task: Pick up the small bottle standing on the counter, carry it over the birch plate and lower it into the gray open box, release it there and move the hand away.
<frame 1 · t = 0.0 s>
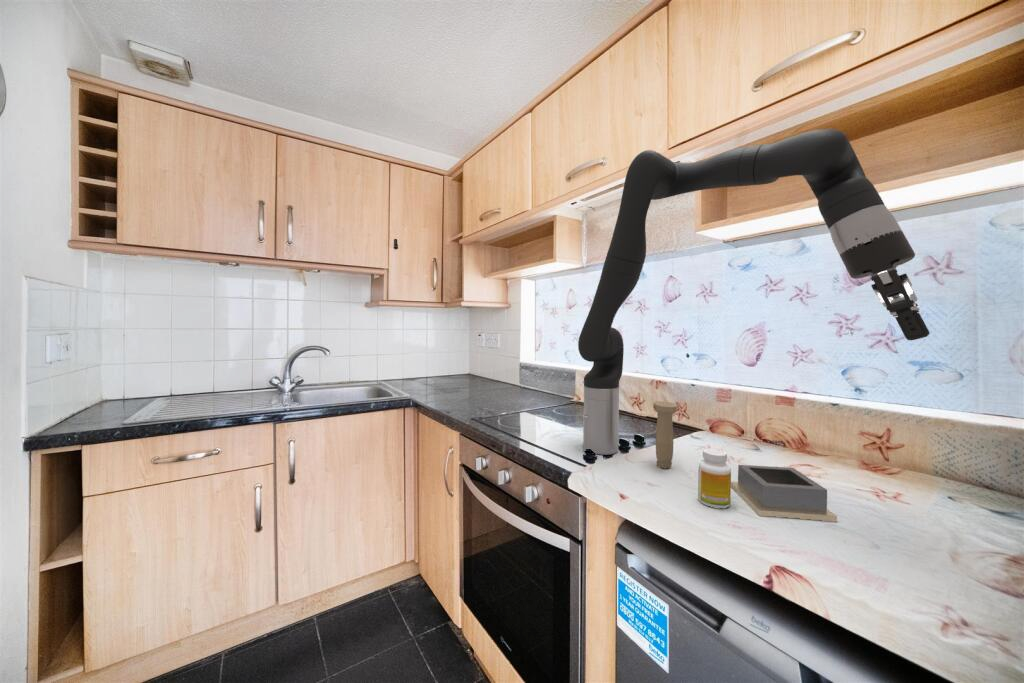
hand: (919, 338, 54), 31 cm above the worktop, tool tilted 20°, fingers open, 8 cm apart
supplement bottle: (713, 503, 69), on the worktop
gray open box: (778, 502, 69), on the worktop
handle: (664, 467, 86), on the worktop
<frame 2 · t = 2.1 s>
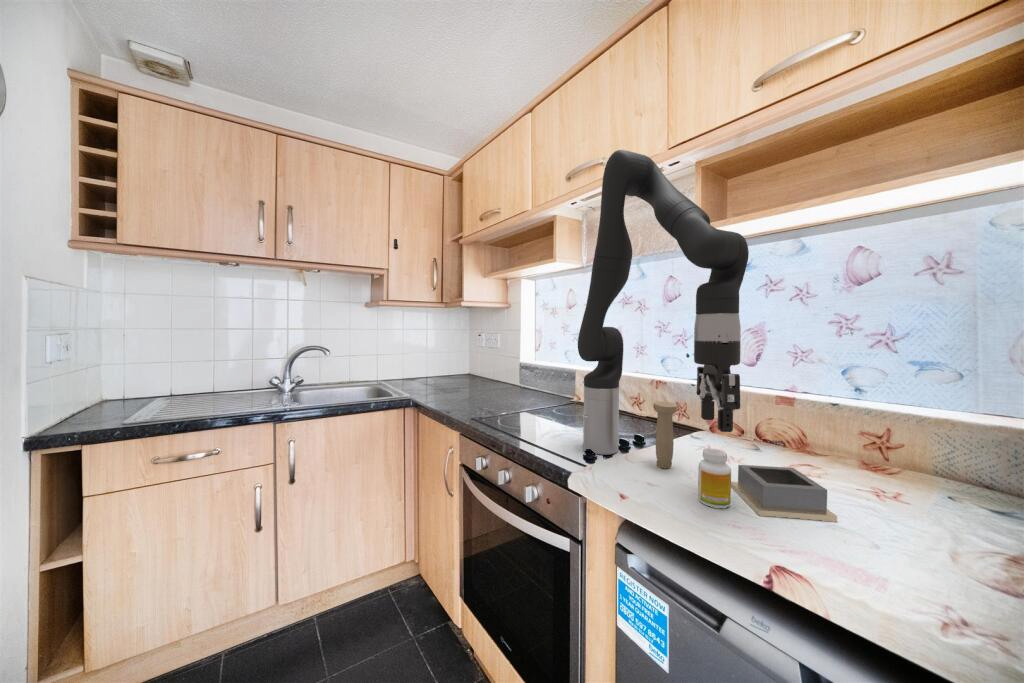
hand: (715, 425, 68), 15 cm above the worktop, tool pointing down, fingers open, 8 cm apart
nothing on the worktop moved.
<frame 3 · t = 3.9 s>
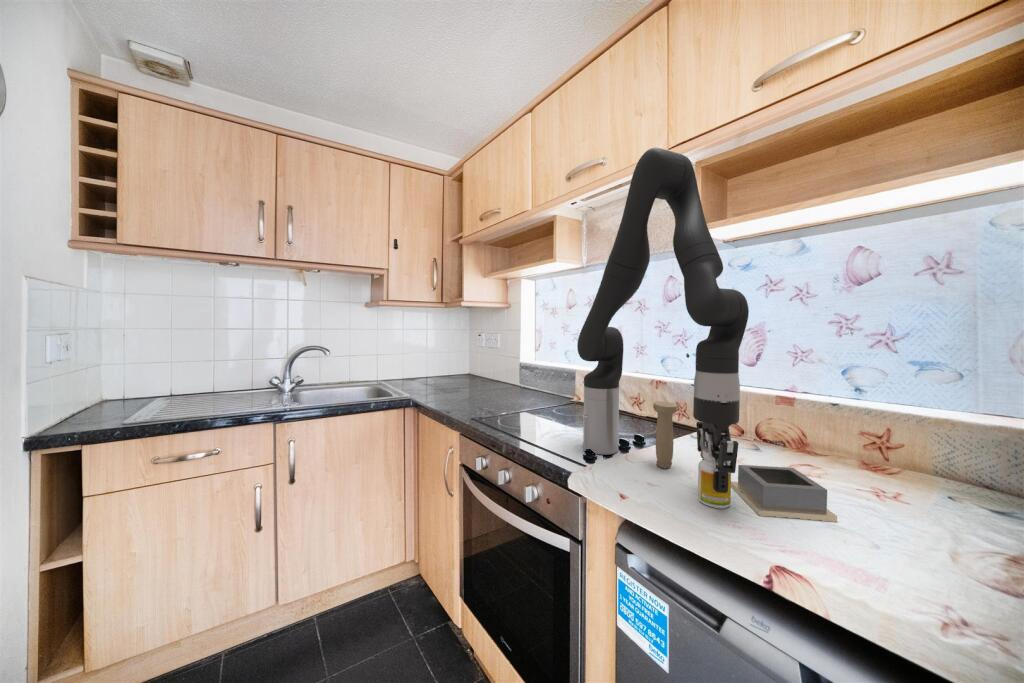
hand: (714, 484, 68), 3 cm above the worktop, tool pointing down, fingers closed on supplement bottle, 5 cm apart
supplement bottle: (713, 503, 69), on the worktop, touching gripper
everything else where it was.
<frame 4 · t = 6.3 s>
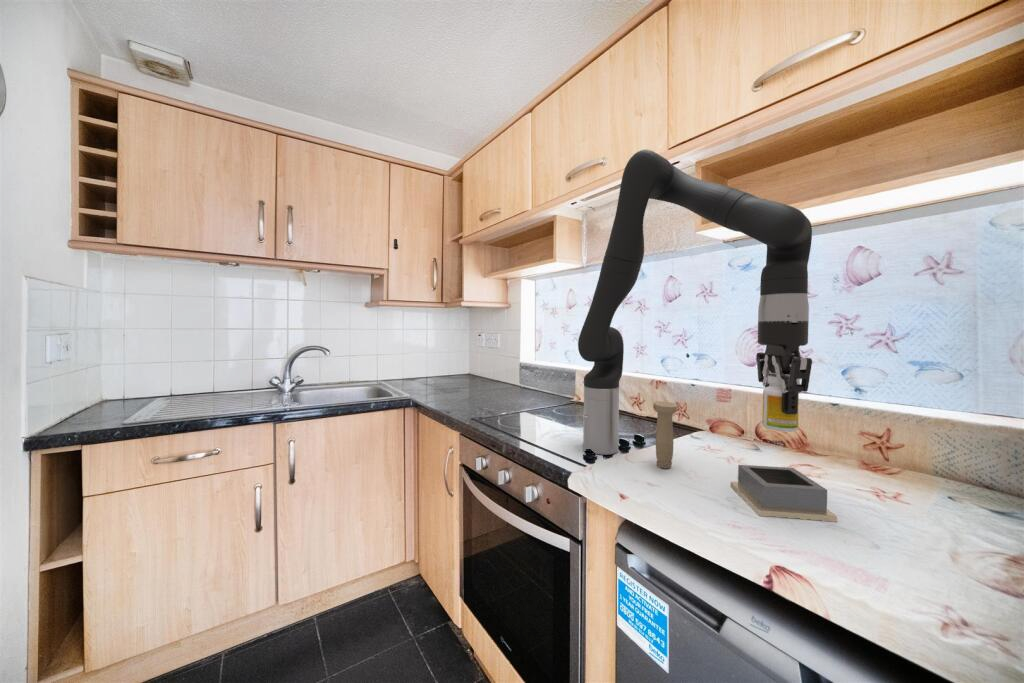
hand: (780, 409, 68), 18 cm above the worktop, tool pointing down, fingers closed on supplement bottle, 5 cm apart
supplement bottle: (779, 429, 68), point 14 cm above the worktop, touching gripper
everything else where it was.
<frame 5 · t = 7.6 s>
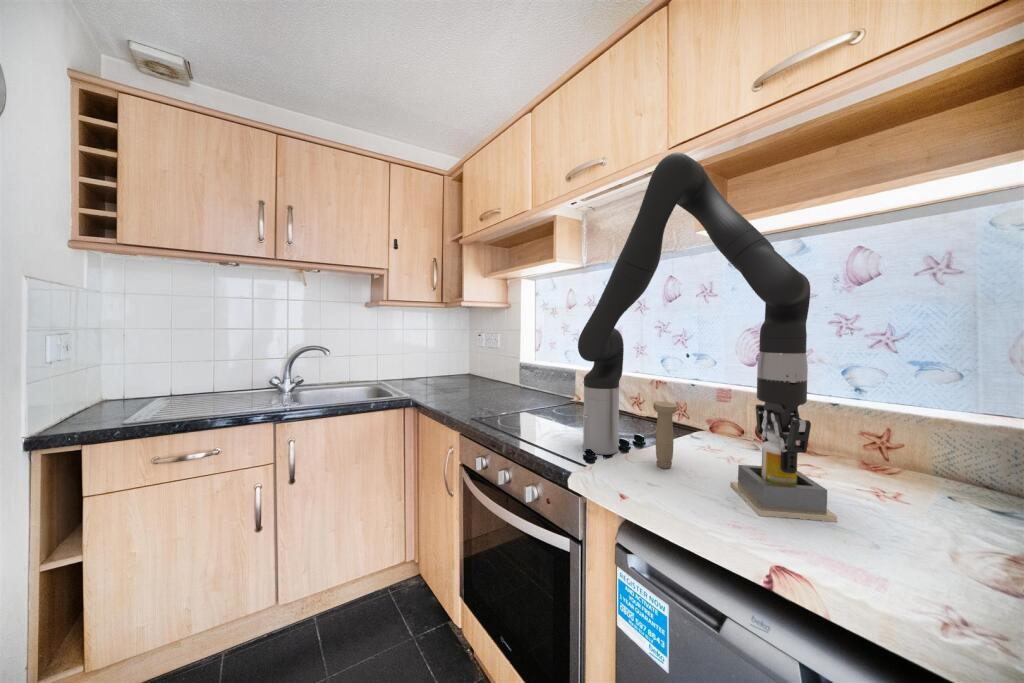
hand: (779, 465, 68), 7 cm above the worktop, tool pointing down, fingers closed on supplement bottle, 5 cm apart
supplement bottle: (778, 484, 68), point 3 cm above the worktop, touching gripper
everything else where it was.
when the fingers open (7 cm above the worktop, at t = 8.5 s): supplement bottle drops 2 cm, resting on gray open box.
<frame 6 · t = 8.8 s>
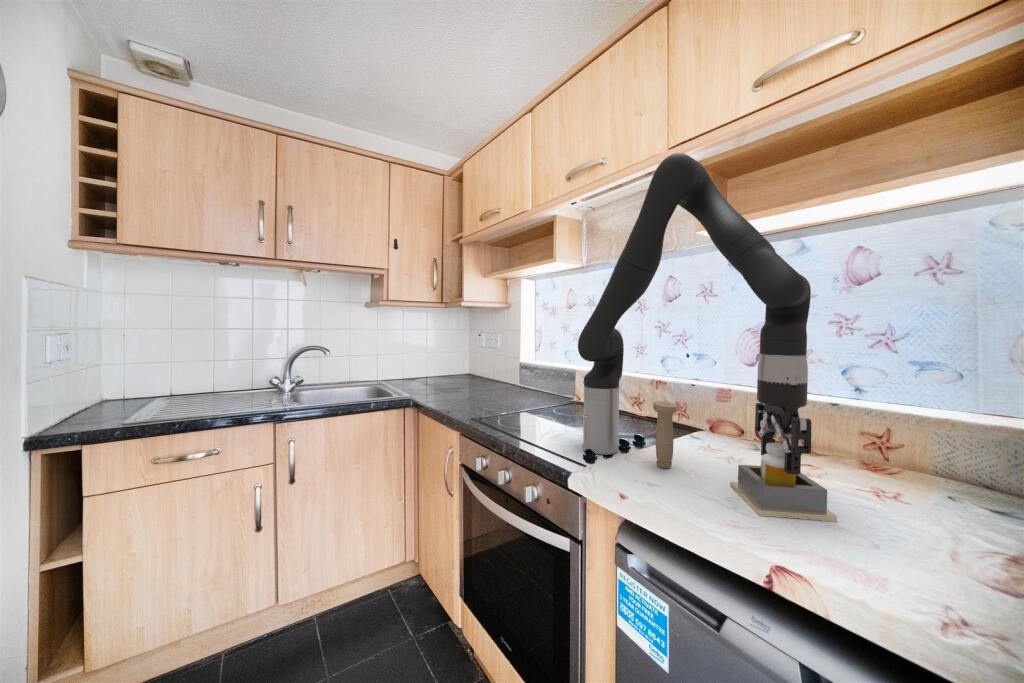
hand: (779, 464, 68), 7 cm above the worktop, tool pointing down, fingers open, 8 cm apart
supplement bottle: (777, 497, 69), point 1 cm above the worktop, touching gray open box
everything else where it was.
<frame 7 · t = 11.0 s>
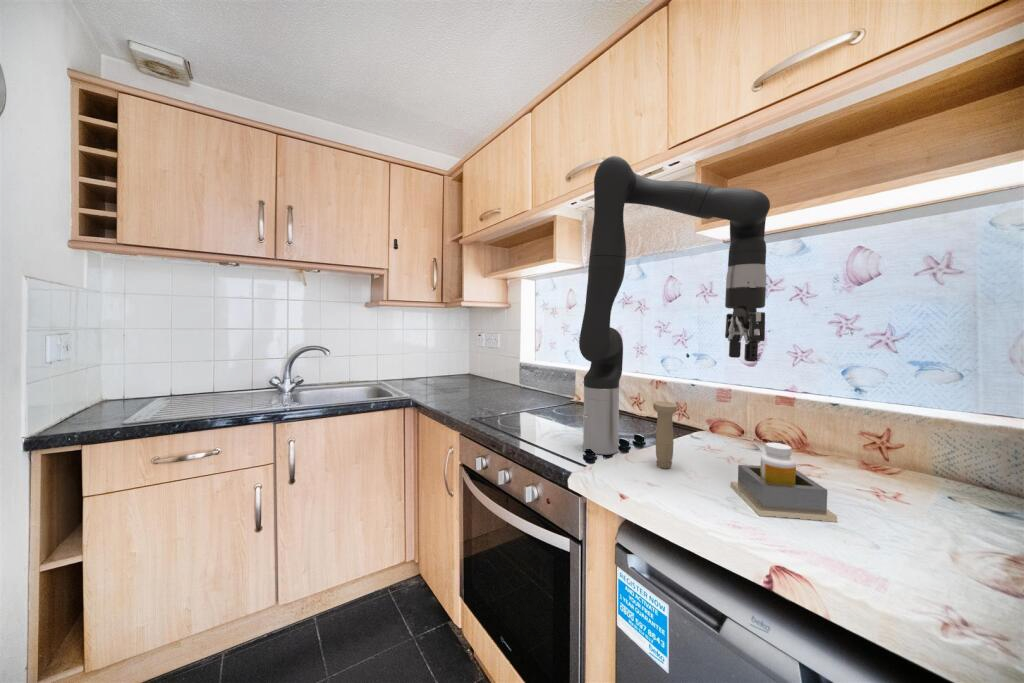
hand: (742, 359, 82), 26 cm above the worktop, tool pointing down, fingers open, 8 cm apart
nothing on the worktop moved.
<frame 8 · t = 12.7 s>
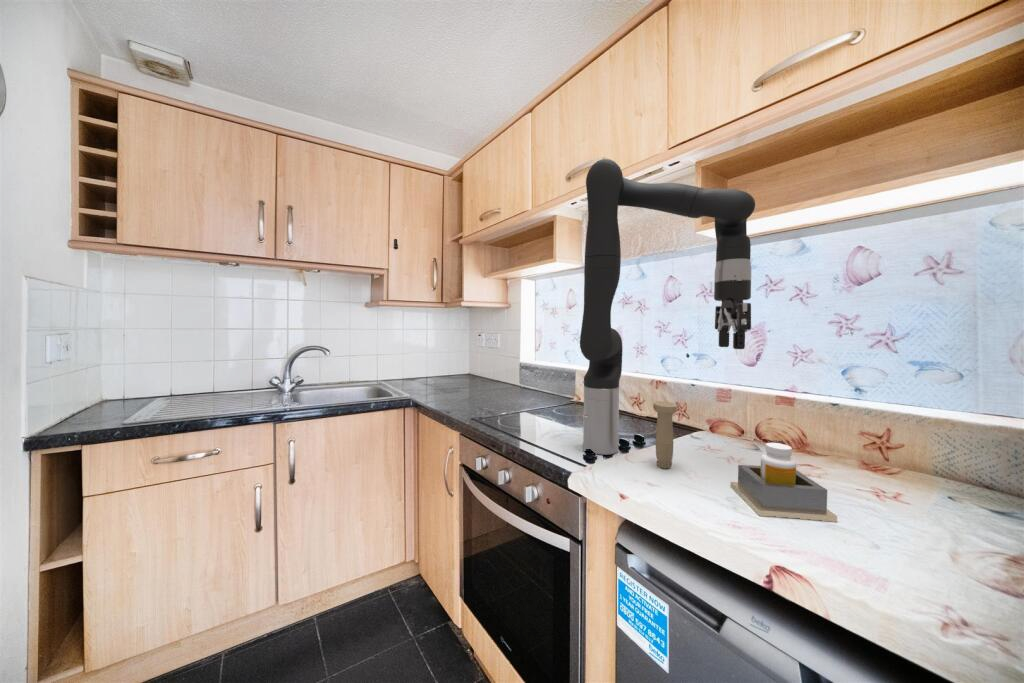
hand: (730, 347, 87), 28 cm above the worktop, tool pointing down, fingers open, 8 cm apart
nothing on the worktop moved.
at the end: supplement bottle 0.3 cm off-centre on the gray open box, point 0.8 cm above the gray open box's base; supplement bottle tilted 0°; the gripper is holding nothing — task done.
